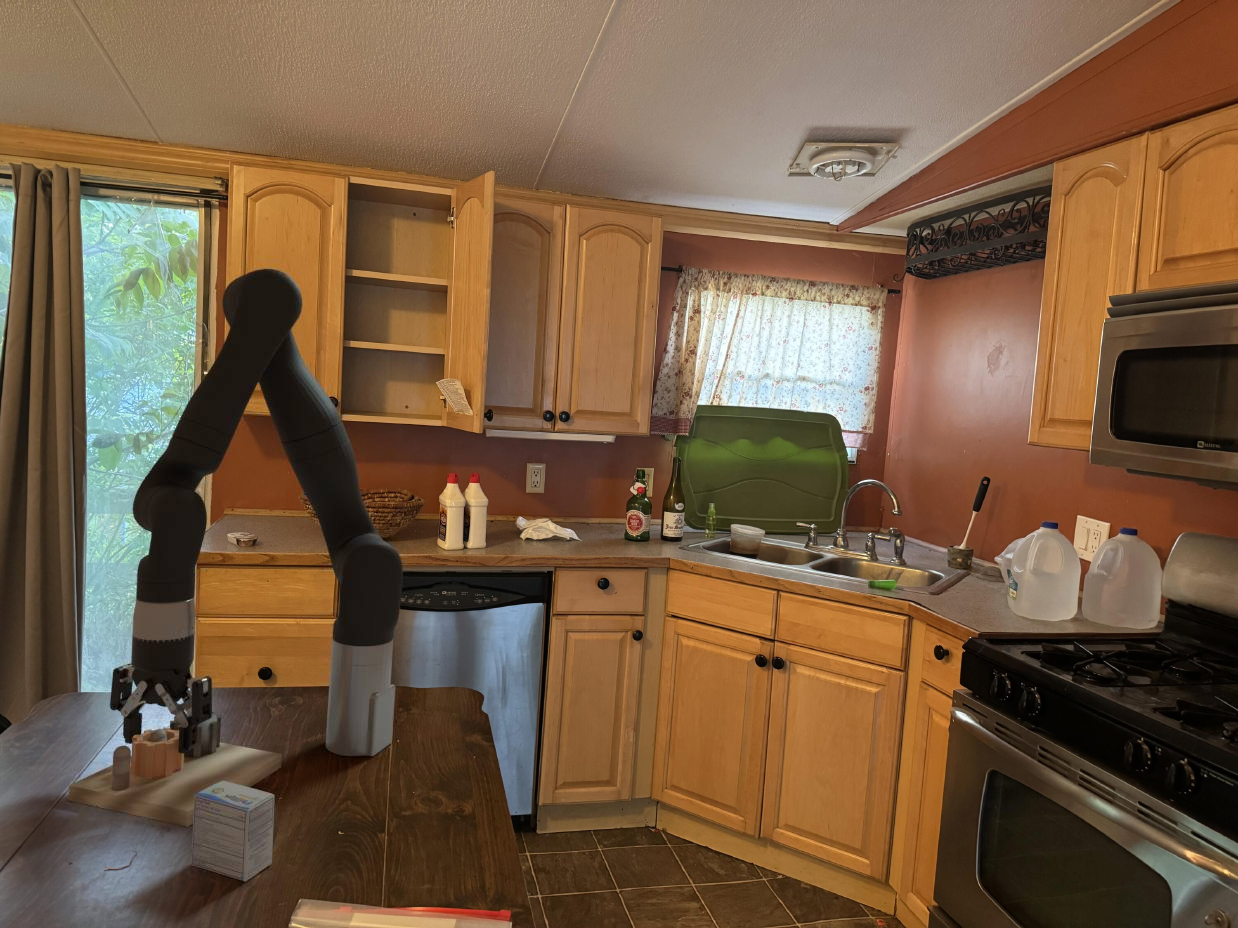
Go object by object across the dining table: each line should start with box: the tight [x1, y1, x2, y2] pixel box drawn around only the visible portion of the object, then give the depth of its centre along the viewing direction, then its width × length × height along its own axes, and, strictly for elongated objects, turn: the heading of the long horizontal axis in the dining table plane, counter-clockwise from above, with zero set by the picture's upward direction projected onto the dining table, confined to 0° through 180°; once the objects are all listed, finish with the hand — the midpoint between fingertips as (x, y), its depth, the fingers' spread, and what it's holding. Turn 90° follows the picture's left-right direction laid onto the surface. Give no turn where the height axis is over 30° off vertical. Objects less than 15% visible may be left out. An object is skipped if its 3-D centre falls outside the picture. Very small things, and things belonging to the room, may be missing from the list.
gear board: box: [68, 711, 283, 827], centre depth 117 cm, size 18×19×9 cm
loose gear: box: [131, 727, 184, 779], centre depth 117 cm, size 6×6×4 cm
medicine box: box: [190, 781, 276, 882], centre depth 98 cm, size 8×4×9 cm, turn 71°
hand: (159, 746), depth 117 cm, fingers open, 8 cm apart
